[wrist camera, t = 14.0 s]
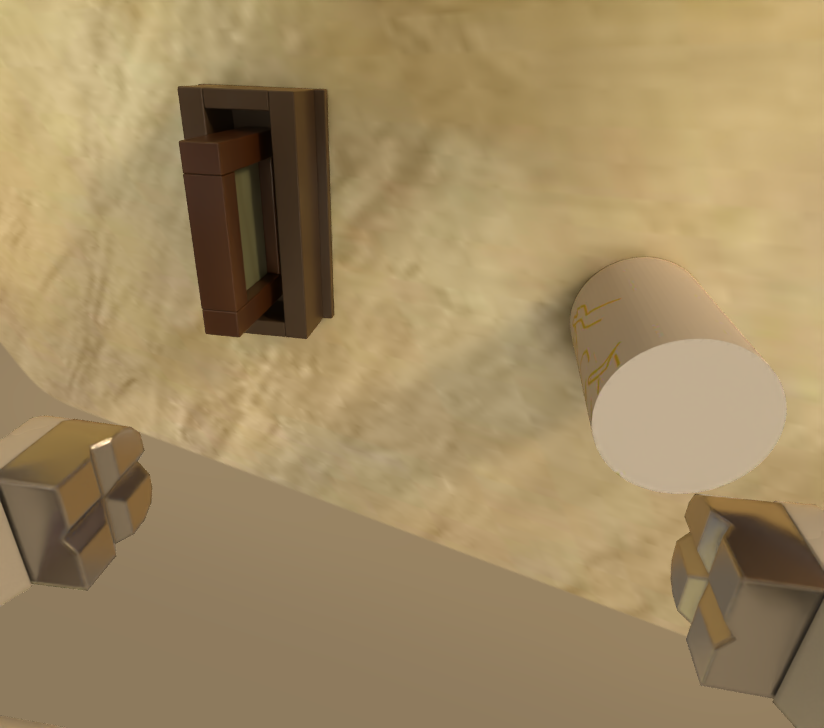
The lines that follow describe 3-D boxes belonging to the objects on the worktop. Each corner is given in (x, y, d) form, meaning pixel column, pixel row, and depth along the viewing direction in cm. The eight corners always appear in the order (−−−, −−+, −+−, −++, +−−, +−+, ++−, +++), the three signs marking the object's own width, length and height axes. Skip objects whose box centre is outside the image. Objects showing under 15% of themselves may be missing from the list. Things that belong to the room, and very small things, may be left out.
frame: (278, 127, 34) (218, 143, 27) (289, 289, 39) (239, 338, 32) (246, 125, 35) (177, 140, 28) (260, 286, 39) (205, 334, 32)
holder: (327, 89, 34) (304, 91, 30) (334, 315, 40) (316, 340, 36) (202, 83, 34) (165, 85, 31) (228, 306, 41) (200, 329, 37)
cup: (564, 267, 36) (586, 349, 25) (707, 247, 34) (794, 328, 24) (574, 382, 39) (596, 498, 29) (705, 370, 38) (780, 488, 27)
